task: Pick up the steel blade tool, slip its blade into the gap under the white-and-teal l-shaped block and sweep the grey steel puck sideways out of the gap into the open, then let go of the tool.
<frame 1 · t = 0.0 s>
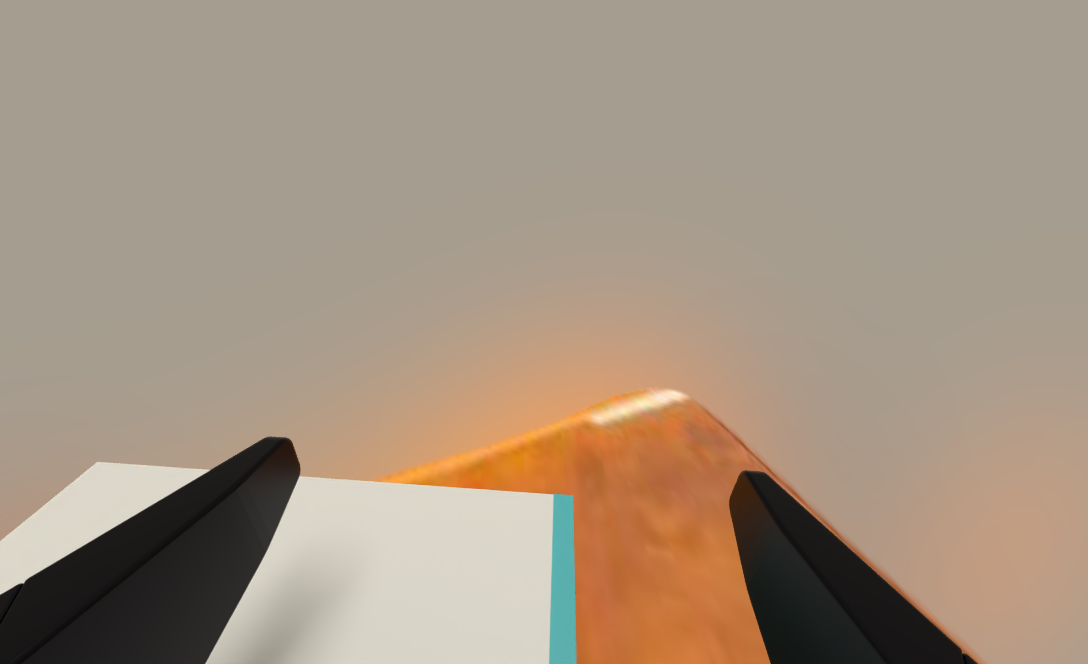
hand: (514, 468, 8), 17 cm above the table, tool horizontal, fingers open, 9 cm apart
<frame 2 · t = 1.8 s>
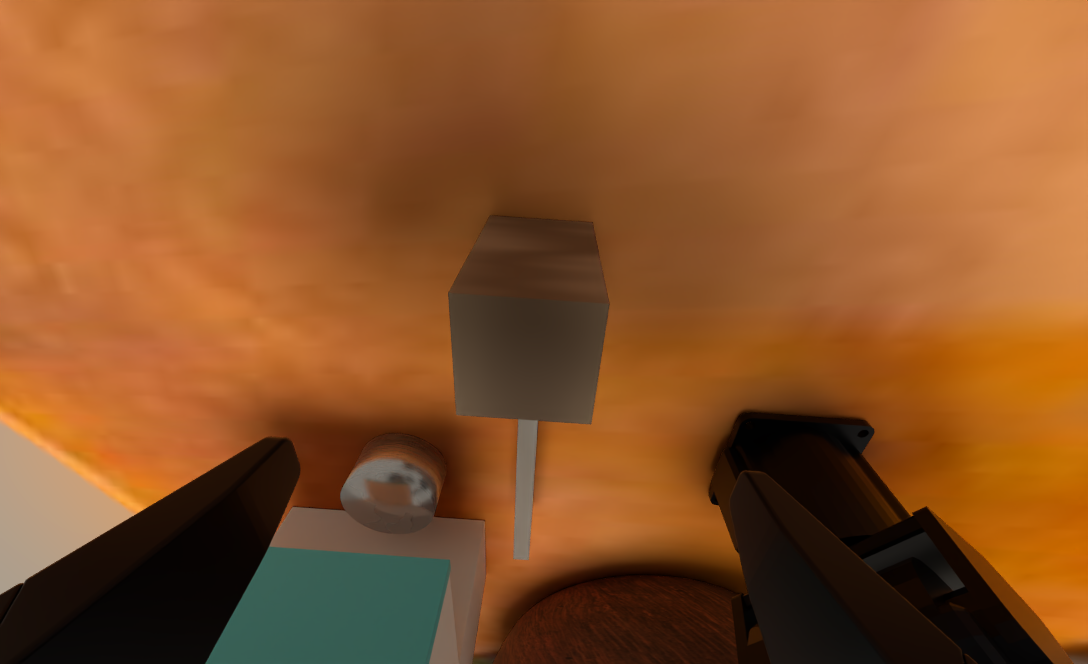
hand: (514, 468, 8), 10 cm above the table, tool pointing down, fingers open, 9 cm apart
blade tool: (538, 266, 17), on the table
l-shaped block: (386, 503, 26), on the table
steel puck: (405, 462, 24), on the table
wooden bowl: (638, 637, 34), on the table
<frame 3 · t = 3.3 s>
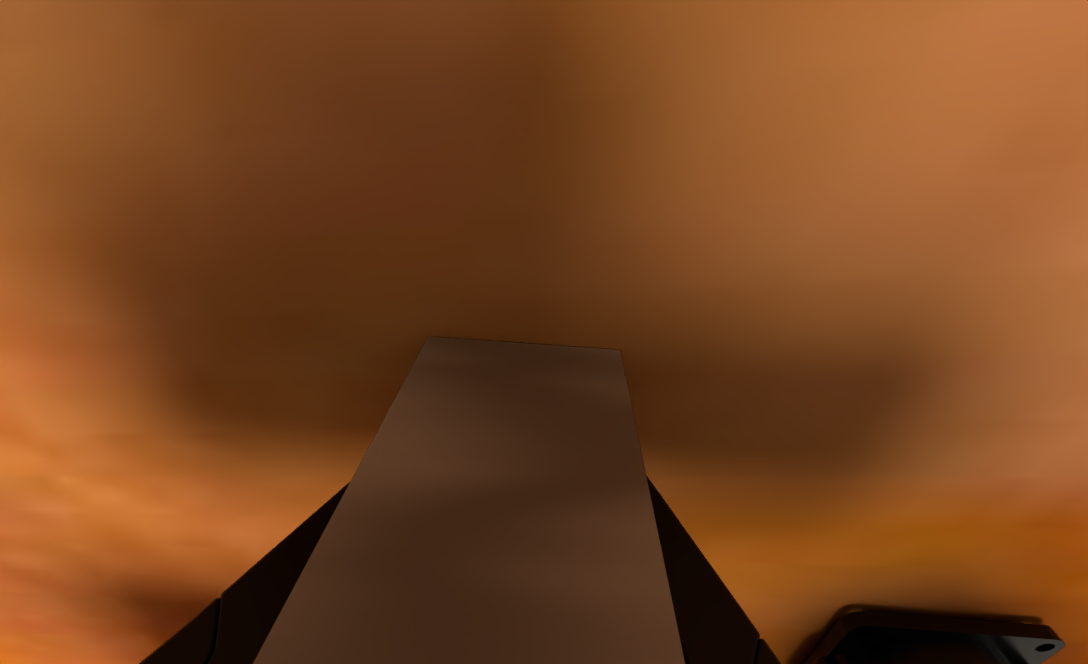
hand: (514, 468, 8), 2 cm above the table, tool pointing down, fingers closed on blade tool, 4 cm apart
blade tool: (521, 415, 10), on the table, touching gripper
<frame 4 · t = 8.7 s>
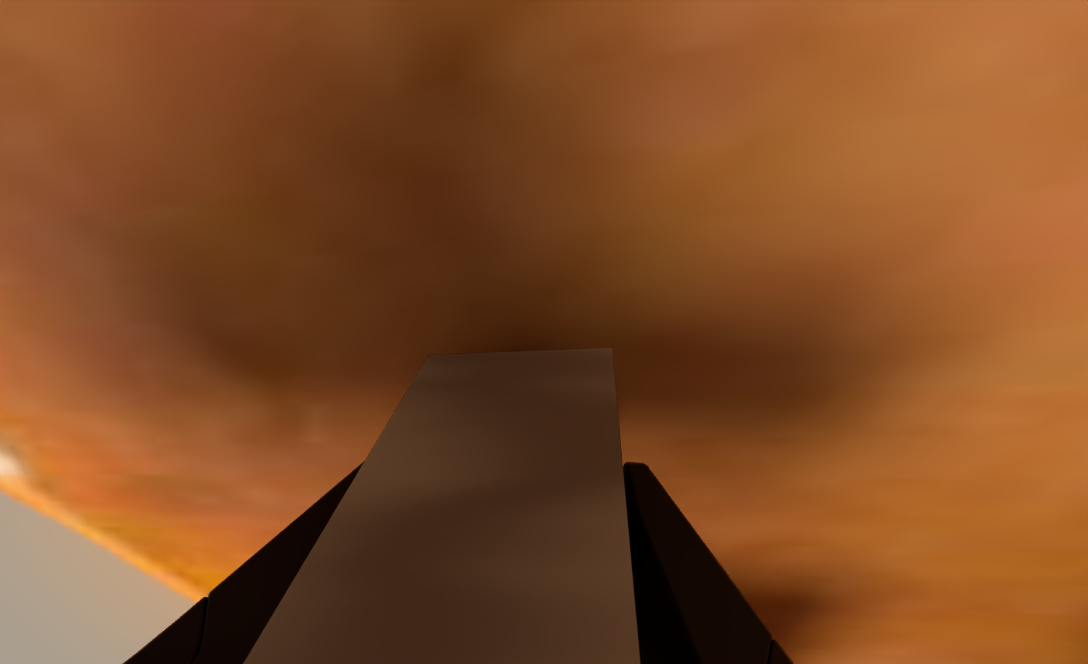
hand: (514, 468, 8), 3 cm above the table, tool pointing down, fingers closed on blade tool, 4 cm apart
blade tool: (529, 422, 10), point 1 cm above the table, touching gripper, steel puck
when the fingers open (3 cm above the table, at t = 11.6 s): blade tool drops 1 cm, on the table.
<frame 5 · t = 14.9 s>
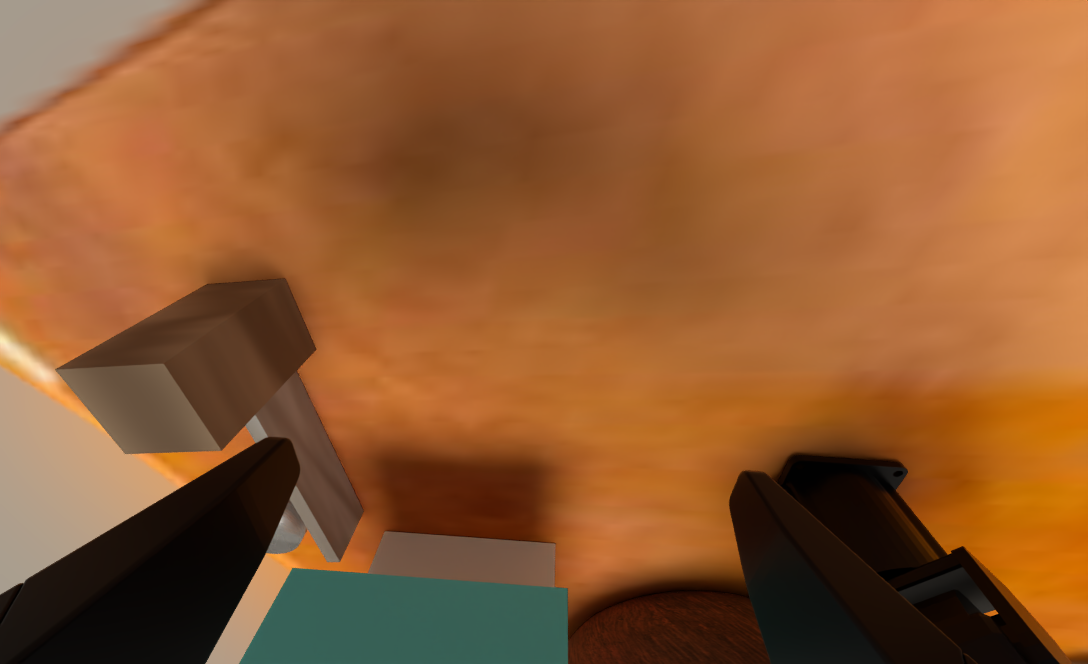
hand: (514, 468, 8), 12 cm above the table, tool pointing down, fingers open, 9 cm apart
blade tool: (263, 318, 21), on the table
l-shaped block: (469, 528, 29), on the table
steel puck: (286, 491, 28), on the table
wooden bowl: (681, 646, 37), on the table
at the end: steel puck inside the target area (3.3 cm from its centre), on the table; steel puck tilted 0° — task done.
